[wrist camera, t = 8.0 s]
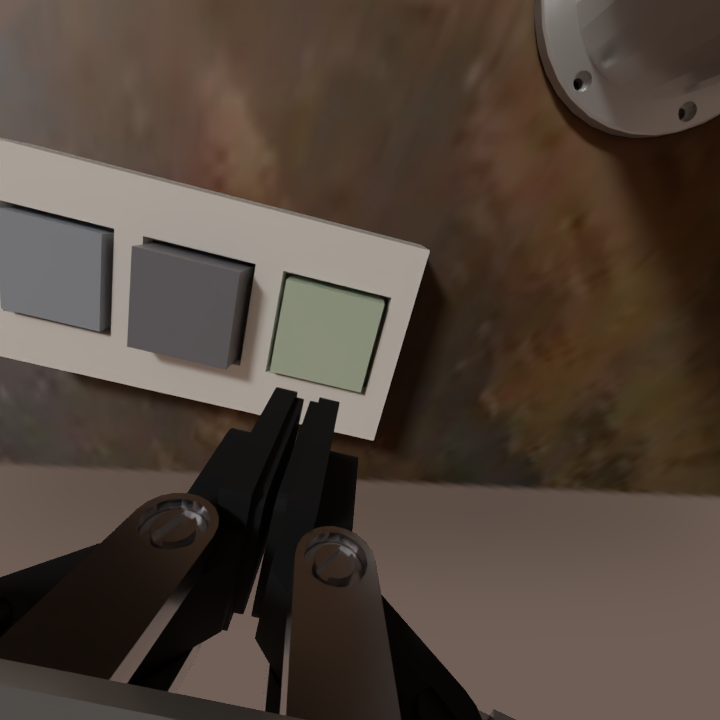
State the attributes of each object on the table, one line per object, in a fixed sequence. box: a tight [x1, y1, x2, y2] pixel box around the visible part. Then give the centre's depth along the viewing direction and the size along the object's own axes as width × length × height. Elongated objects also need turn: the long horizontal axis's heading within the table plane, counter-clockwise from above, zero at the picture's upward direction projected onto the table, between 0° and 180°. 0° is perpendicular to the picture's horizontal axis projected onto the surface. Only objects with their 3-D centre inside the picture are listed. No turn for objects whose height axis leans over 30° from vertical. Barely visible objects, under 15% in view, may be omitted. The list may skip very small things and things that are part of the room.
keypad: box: [0, 138, 430, 441], centre depth 23 cm, size 22×11×4 cm, turn 76°
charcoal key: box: [127, 242, 256, 370], centre depth 21 cm, size 5×5×3 cm
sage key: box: [270, 274, 384, 393], centre depth 22 cm, size 5×5×3 cm
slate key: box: [0, 207, 114, 332], centre depth 21 cm, size 5×5×3 cm
